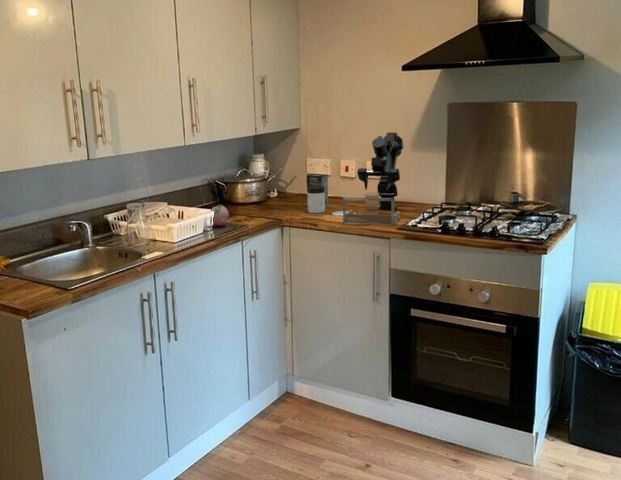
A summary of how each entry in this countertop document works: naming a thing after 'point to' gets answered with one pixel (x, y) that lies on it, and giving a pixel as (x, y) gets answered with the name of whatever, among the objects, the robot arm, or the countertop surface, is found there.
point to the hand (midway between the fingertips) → (375, 189)
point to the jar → (316, 199)
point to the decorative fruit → (220, 215)
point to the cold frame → (369, 218)
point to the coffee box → (318, 184)
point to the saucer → (339, 213)
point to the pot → (372, 203)
